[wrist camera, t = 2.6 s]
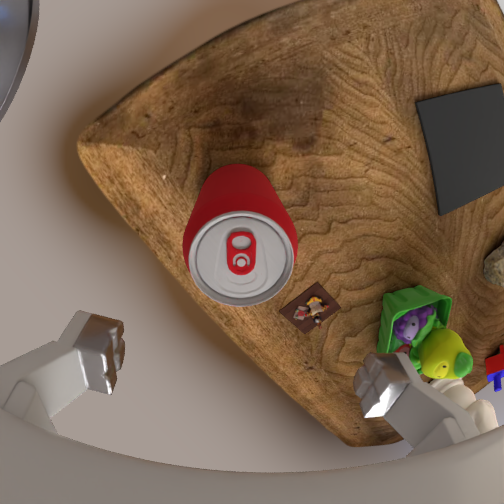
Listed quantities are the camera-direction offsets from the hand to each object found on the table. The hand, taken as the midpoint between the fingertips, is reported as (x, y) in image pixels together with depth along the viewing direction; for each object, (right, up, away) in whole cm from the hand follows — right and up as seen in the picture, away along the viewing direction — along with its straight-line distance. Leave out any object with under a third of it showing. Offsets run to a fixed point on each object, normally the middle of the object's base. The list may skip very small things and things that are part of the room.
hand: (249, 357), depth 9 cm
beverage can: (-1, +8, +17) cm, 18 cm away
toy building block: (+45, -16, +31) cm, 57 cm away
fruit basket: (+18, -5, +24) cm, 30 cm away
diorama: (+6, -3, +22) cm, 23 cm away
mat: (+24, +15, +15) cm, 32 cm away
